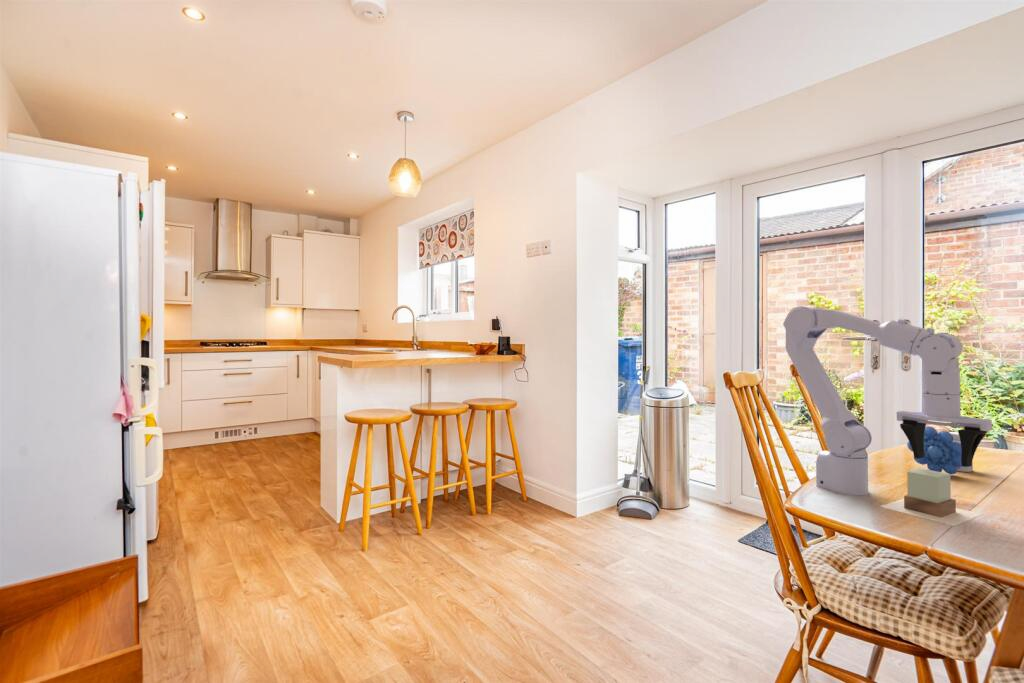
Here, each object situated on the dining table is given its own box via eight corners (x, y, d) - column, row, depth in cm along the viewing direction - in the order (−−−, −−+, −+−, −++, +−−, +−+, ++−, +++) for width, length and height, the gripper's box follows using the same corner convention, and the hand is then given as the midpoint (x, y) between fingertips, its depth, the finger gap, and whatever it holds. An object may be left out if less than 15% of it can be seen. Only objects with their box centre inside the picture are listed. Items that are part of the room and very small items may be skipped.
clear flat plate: (879, 510, 99) (879, 506, 99) (909, 500, 105) (909, 496, 105) (954, 530, 89) (954, 525, 89) (982, 518, 94) (982, 514, 94)
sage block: (907, 496, 98) (907, 471, 98) (920, 492, 100) (919, 468, 100) (938, 503, 93) (938, 477, 93) (950, 499, 96) (950, 474, 96)
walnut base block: (904, 508, 98) (904, 495, 98) (918, 503, 101) (918, 491, 101) (941, 517, 93) (941, 504, 93) (955, 512, 95) (955, 499, 95)
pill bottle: (978, 472, 126) (978, 434, 126) (958, 472, 126) (957, 435, 126) (959, 466, 131) (958, 431, 131) (939, 467, 131) (938, 431, 131)
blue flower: (904, 472, 127) (904, 426, 127) (909, 467, 131) (908, 423, 131) (965, 481, 118) (964, 432, 118) (967, 475, 123) (967, 428, 123)
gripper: (888, 391, 101) (889, 456, 101) (979, 398, 88) (980, 472, 88) (906, 389, 105) (907, 452, 104) (996, 395, 92) (997, 467, 92)
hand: (942, 461), depth 97 cm, fingers open, 7 cm apart
